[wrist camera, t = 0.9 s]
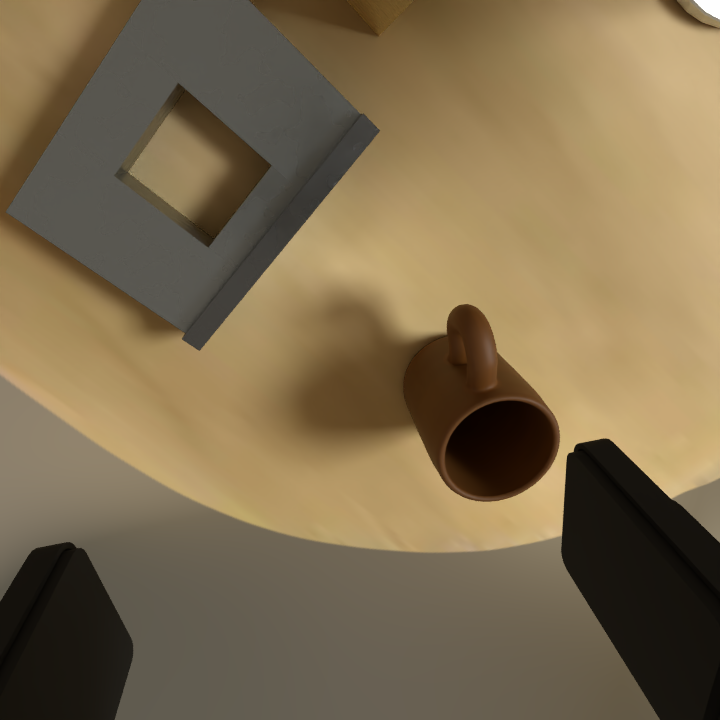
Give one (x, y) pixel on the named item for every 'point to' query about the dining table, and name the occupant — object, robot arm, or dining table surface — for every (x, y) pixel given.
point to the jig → (140, 122)
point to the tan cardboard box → (379, 12)
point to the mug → (478, 413)
